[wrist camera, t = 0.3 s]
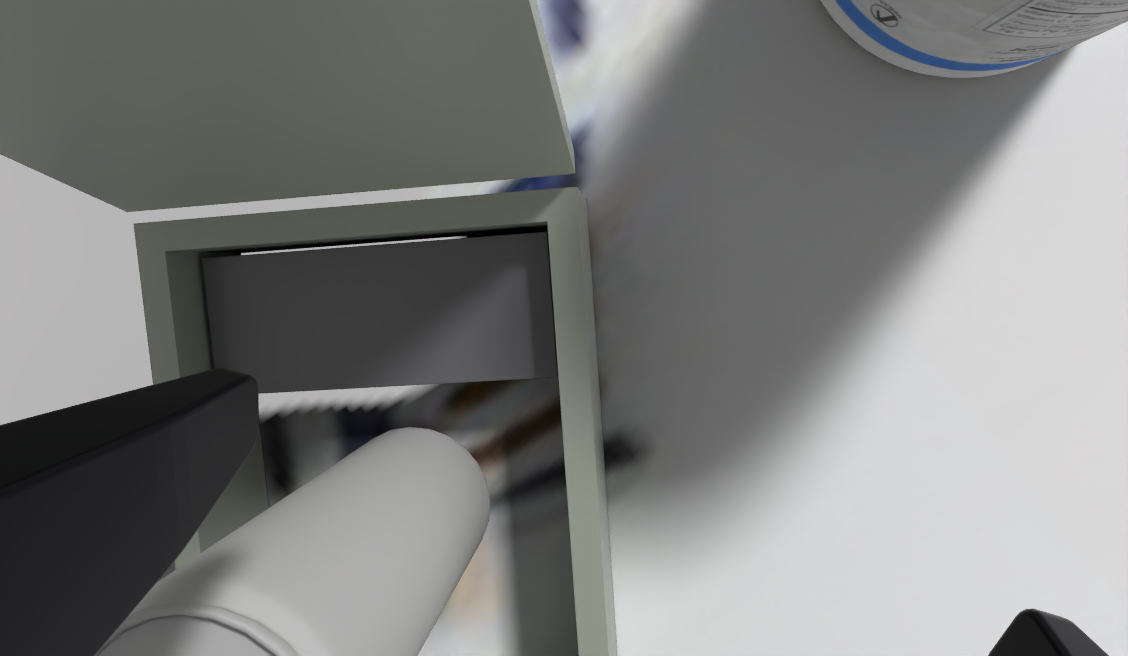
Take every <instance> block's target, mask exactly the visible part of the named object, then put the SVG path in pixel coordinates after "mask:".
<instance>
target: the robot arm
mask: <svg viewBox="0 0 1128 656" xmlns="http://www.w3.org/2000/svg"><path fill="white" fill-rule="evenodd" d="M258 431H259V408H258V384H257V381H256V379H255V378H254V377H253V376H252V375H249V374H246V373H243V372H239V371H236V370H233V369H229V368H224V367H220V368H215V369H212V370H208V371H204V372H200V373H196V374H193V375H189V376H185V377H181V378H178V379H174V380H170V381H166V382H162V383H159V384H155V385H151V386H147V387H144V388H140V389H136V390H132V391H128V392H125V393H121V394H117V395H113V396H110V397H106V398H102V399H98V400H94V401H90V402H87V403H83V404H79V405H75V406H71V407H68V408H64V409H60V410H57V411H52V412H49V413H45V414H42V415H37V416H34V417H30V418H26V419H22V420H18V421H15V422H11V423H7V424H4V425H0V656H95V655H96V653H97V652H98V651H99V650H100V649H101V648H102V646H103V645H104V644H105V643H106V642H107V640H108V639H109V638H110V637H111V636H112V635H113V633H114V632H115V631H116V630H117V629H118V628H119V626H120V625H121V624H122V623H123V622H124V620H125V619H126V618H127V617H128V616H129V615H130V613H131V612H132V611H133V610H134V609H135V607H136V606H137V605H138V604H139V603H140V602H141V600H142V599H143V598H144V597H145V596H146V595H147V593H148V592H149V591H150V590H151V589H152V587H153V586H154V585H155V584H156V583H157V582H158V580H159V579H160V578H161V577H162V576H163V574H164V573H165V572H166V571H167V570H168V569H169V567H170V566H171V565H172V564H173V562H174V561H175V560H176V559H177V557H178V556H179V555H180V554H181V552H182V551H183V550H184V548H185V547H186V546H187V544H188V543H189V541H190V540H191V539H192V537H193V536H194V535H195V533H196V532H197V530H198V529H199V527H200V526H201V524H202V523H203V521H204V520H205V518H206V517H207V516H208V514H209V513H210V511H211V510H212V508H213V507H214V505H215V504H216V502H217V501H218V499H219V498H220V497H221V495H222V494H223V492H224V491H225V489H226V488H227V486H228V485H229V483H230V482H231V481H232V479H233V478H234V476H235V475H236V473H237V472H238V470H239V469H240V467H241V466H242V464H243V463H244V462H245V460H246V459H247V457H248V456H249V454H250V453H251V451H252V449H253V448H254V446H255V443H256V441H257V437H258ZM988 656H1109V655H1108V654H1106V653H1105V652H1104V651H1103V650H1102V649H1101V648H1100V647H1099V646H1098V645H1097V644H1096V643H1095V642H1093V641H1092V640H1091V639H1090V638H1089V637H1088V636H1087V635H1086V634H1085V633H1084V632H1083V631H1082V630H1080V629H1079V628H1078V627H1077V626H1076V625H1075V624H1074V623H1073V622H1071V621H1069V620H1068V619H1066V618H1063V617H1060V616H1056V615H1053V614H1050V613H1046V612H1043V611H1040V610H1036V609H1026V610H1023V611H1022V612H1020V613H1019V614H1018V615H1017V616H1016V617H1015V619H1014V620H1013V621H1012V623H1011V624H1010V626H1009V627H1008V628H1007V630H1006V631H1005V633H1004V634H1003V635H1002V637H1001V638H1000V639H999V641H998V642H997V644H996V645H995V646H994V648H993V649H992V650H991V652H990V653H989V655H988Z"/></svg>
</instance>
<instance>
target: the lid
mask: <svg viewBox="0 0 1128 656" xmlns="http://www.w3.org/2000/svg"><path fill="white" fill-rule="evenodd" d="M0 154H1V155H3V156H5V157H8V158H10V159H12V160H14V161H17V162H19V163H21V164H23V165H25V166H27V167H30V168H32V169H34V170H36V171H38V172H41V173H43V174H45V175H47V176H49V177H52V178H54V179H56V180H58V181H60V182H63V183H65V184H67V185H69V186H71V187H73V188H76V189H78V190H80V191H82V192H84V193H87V194H89V195H91V196H93V197H96V198H98V199H100V200H102V201H104V202H106V203H109V204H111V205H113V206H115V207H118V208H119V209H122V210H124V211H126V212H132V211H143V210H156V209H166V208H178V207H191V206H203V205H214V204H226V203H238V202H249V201H261V200H273V199H285V198H296V197H308V196H319V195H331V194H343V193H354V192H366V191H378V190H390V189H402V188H413V187H425V186H437V185H448V184H460V183H472V182H484V181H495V180H507V179H519V178H530V177H542V176H554V175H566V174H575V164H574V149H573V145H572V141H571V137H570V133H569V129H568V125H567V121H566V117H565V113H564V109H563V105H562V101H561V97H560V93H559V89H558V85H557V81H556V77H555V73H554V69H553V65H552V61H551V57H550V53H549V49H548V45H547V41H546V37H545V33H544V29H543V25H542V21H541V17H540V13H539V9H538V5H537V1H536V0H0Z"/></svg>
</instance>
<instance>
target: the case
mask: <svg viewBox="0 0 1128 656" xmlns="http://www.w3.org/2000/svg"><path fill="white" fill-rule="evenodd" d="M545 229H548V232H539V233H526V234H513V235H500V236H487V237H474V238H461V239H448V240H437V241H436V240H435V241H423V242H410V243H396V244H383V245H370V246H358V247H344V248H332V249H320V250H307V251H306V250H305V251H293V252H280V253H266V254H253V255H241V253H247V252H260V251H272V250H286V249H299V248H312V247H325V246H338V245H351V244H364V243H376V242H390V241H403V240H415V239H428V238H440V237H454V236H467V235H480V234H493V233H506V232H519V231H532V230H545ZM134 231H135V239H136V247H137V255H138V264H139V272H140V280H141V287H142V295H143V305H144V313H145V321H146V329H147V337H148V346H149V353H150V362H151V370H152V378H153V385H155V384H159V383H162V382H166V381H170V380H174V379H178V378H181V377H185V376H189V375H193V374H196V373H200V372H204V371H208V370H212V369H215V368H220V367H224V368H229V369H233V370H236V371H239V372H243V373H246V374H249V375H252V376H253V377H254V378H255V379H256V381H257V384H258V393H276V392H293V391H294V392H295V391H313V390H331V389H349V388H368V387H386V386H404V385H423V384H441V383H459V382H478V381H496V380H514V379H533V378H551V377H558V376H559V390H560V404H561V418H562V431H563V445H564V459H565V473H566V487H567V500H568V514H569V528H570V542H571V556H572V569H573V583H574V597H575V611H576V625H577V638H578V652H579V656H618V655H617V640H616V626H615V611H614V596H613V581H612V566H611V552H610V537H609V522H608V507H607V492H606V478H605V463H604V448H603V433H602V418H601V404H600V389H599V374H598V359H597V344H596V330H595V315H594V300H593V285H592V270H591V256H590V241H589V226H588V211H587V199H586V198H585V197H584V196H583V194H582V193H581V192H580V191H579V189H578V188H577V187H568V188H556V189H544V190H532V191H520V192H508V193H496V194H484V195H472V196H460V197H448V198H436V199H424V200H412V201H400V202H388V203H376V204H364V205H352V206H340V207H328V208H316V209H304V210H292V211H280V212H268V213H256V214H245V215H232V216H220V217H208V218H197V219H186V220H185V219H184V220H172V221H161V222H149V223H137V224H134ZM268 508H269V506H268V497H267V488H266V479H265V470H264V461H263V451H262V442H261V433H260V424H259V431H258V437H257V441H256V443H255V446H254V448H253V449H252V451H251V453H250V454H249V456H248V457H247V459H246V460H245V462H244V463H243V464H242V466H241V467H240V469H239V470H238V472H237V473H236V475H235V476H234V478H233V479H232V481H231V482H230V483H229V485H228V486H227V488H226V489H225V491H224V492H223V494H222V495H221V497H220V498H219V499H218V501H217V502H216V504H215V505H214V507H213V508H212V510H211V511H210V513H209V514H208V516H207V517H206V518H205V520H204V521H203V523H202V524H201V526H200V527H199V529H198V530H197V532H196V533H195V535H194V536H193V537H192V539H191V540H190V541H189V543H188V544H187V546H186V547H185V548H184V550H183V551H182V552H181V554H180V555H179V556H178V557H177V559H176V560H175V567H176V569H178V568H179V567H181V566H182V565H184V564H185V563H187V562H188V561H190V560H191V559H193V558H194V557H196V556H197V555H199V554H200V553H202V552H203V551H205V550H206V549H208V548H209V547H211V546H212V545H214V544H215V543H217V542H218V541H220V540H221V539H223V538H224V537H226V536H227V535H229V534H230V533H232V532H234V531H235V530H237V529H238V528H240V527H241V526H243V525H244V524H246V523H247V522H249V521H250V520H252V519H253V518H255V517H256V516H258V515H259V514H261V513H262V512H264V511H265V510H267V509H268Z"/></svg>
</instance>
